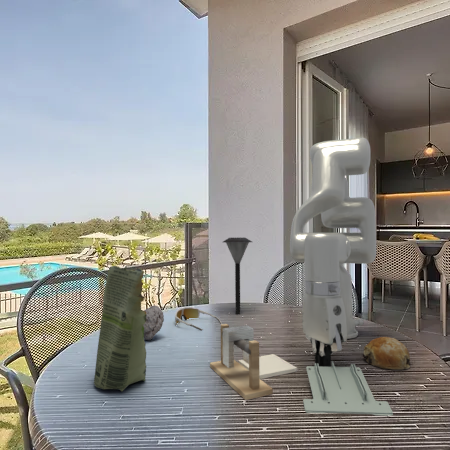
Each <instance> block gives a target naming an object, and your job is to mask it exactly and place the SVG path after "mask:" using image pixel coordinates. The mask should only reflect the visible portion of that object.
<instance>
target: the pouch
mask: <svg viewBox="0 0 450 450" xmlns="http://www.w3.org/2000/svg"><path fill="white" fill-rule="evenodd" d="M144 273H145V271H144V270H143V269H142V267H139V268H137V269H136V268H135V270H134V269H131V268H130V269H127V264H126V265H125V267H122V268H121V267H120V265H119V266H118V265H112V266H109V268H108V270H107V277H106V280H105V281H106V282H105V287H104V290H103V297H102V300H103V301H102V302H103V303H102V315H101V319H100V322H101V323H100V328H99V329H100V330H99V336H98V341H97V342H98V343H97V344H98V345H97V351H96V352H97V353H96V360H95V371H94V378H93V384H94V386H95V387H96V388H98V389H101V390H119V391H121V392H123V391H124V390H125V389H126V388H127V387H128V386H129V385H132V384H134V383H137V382H140V381H142V382H146V373H147V363H146V361H147V350H146V347H147V345H146V342H145V341H146V340H145V339H144V326H143V325H144V324H145V322H146V315H147V314H146V312H145V311H144V310H142V302H143V301H145V297H144V295H143V294H142V291H143V285H144V283H143V278H144Z"/></svg>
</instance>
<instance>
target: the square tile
mask: <svg viewBox="0 0 450 450" xmlns="http://www.w3.org/2000/svg"><path fill="white" fill-rule="evenodd" d="M237 362H238V363H239V364H241V365H242V366H243V367H244V368H246V369H247V370H248V371H249V364H248V363H246V362H245V361H244V360H243V359H238V361H237ZM297 372H298V367H296V366H295V365H293V364H291V363H290V362H288V361H286V360H284V359H283V358H282V357H279V356H278V355H276V354H274V353H272V354H266V355H261V356H260V355H259V379H260V380H263V379H268V378H272V377H276V376H282V375H287V374H291V373H297Z"/></svg>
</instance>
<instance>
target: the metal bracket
mask: <svg viewBox="0 0 450 450" xmlns="http://www.w3.org/2000/svg"><path fill="white" fill-rule="evenodd" d="M305 369H306V373H307V378H308V381H309V385H310V390H311V394H312V399H311V398H303V400H302V402H303V403H302V404H303V407H304V408H303V409H304V411H305V413H309V414H310V413H311V414H328V413H329V414H348V415H349V414H355V415H356V414H359V415H373V416H393V415H394V411H393V410H392V408H391V406H390V404H389V402H388V401H386V400H385V401H383V400H382V401H381V400H376V399H375V397H374V395H373V393H372V391H371V389H370V385H369V383H368V382H367V379H366V378H365V375H364V373H363V370H362V369H361V368H360V367H357V366H356V364H355V363H351V364H350V366H335V364H334V361H333V360H331V367H319V364H318V363H317V366H316V363H315V362H314V366H310V365H308V366H307V365H306V367H305Z"/></svg>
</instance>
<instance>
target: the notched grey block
mask: <svg viewBox="0 0 450 450" xmlns="http://www.w3.org/2000/svg"><path fill="white" fill-rule="evenodd" d="M254 331H255V330H254V328H253V327H251V326H249V325H247V324H246V325H240V326H239V325H237V326H229V328H223V364H224V365H226V366H227V367H228V368H232V367H234V360H235V353H234V352H235V348H234V347H235V345H234V341H236V340H244V341H246V342H247V343H249V341H254V339H255V337H254V336H255V335H254ZM241 350H242V349H241ZM241 352H242V360H244V361H245V362H246V363H248V364H249V354H248V353H246V352H245V351H243V350H242V351H241Z"/></svg>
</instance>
